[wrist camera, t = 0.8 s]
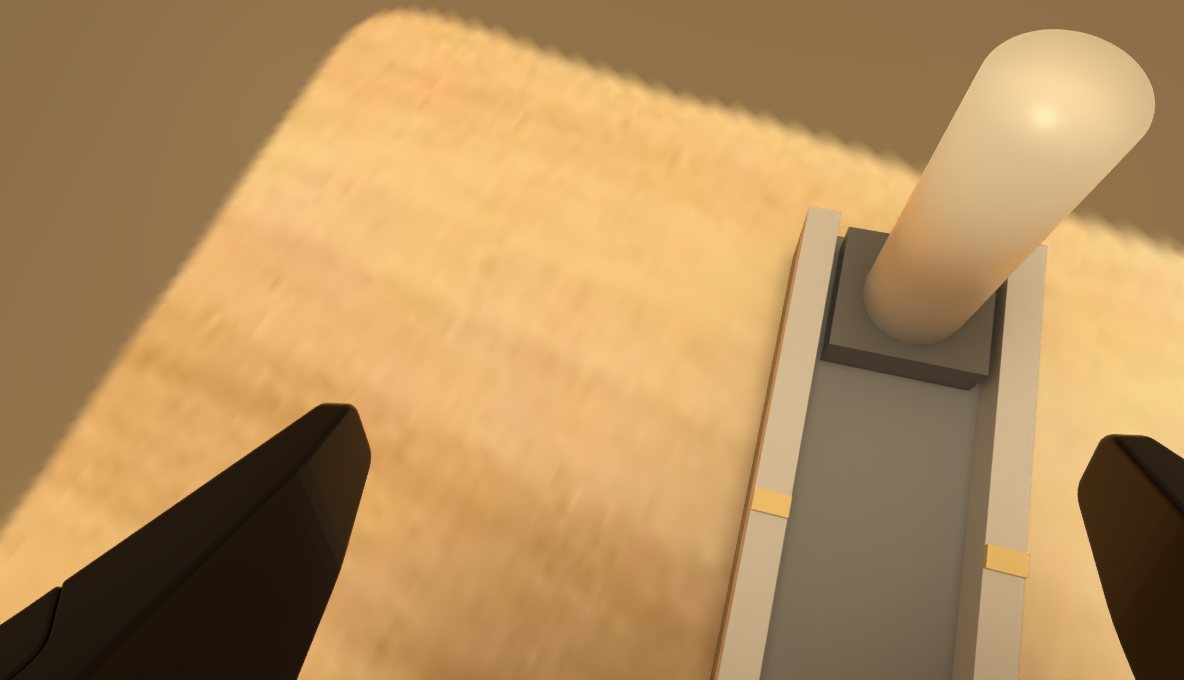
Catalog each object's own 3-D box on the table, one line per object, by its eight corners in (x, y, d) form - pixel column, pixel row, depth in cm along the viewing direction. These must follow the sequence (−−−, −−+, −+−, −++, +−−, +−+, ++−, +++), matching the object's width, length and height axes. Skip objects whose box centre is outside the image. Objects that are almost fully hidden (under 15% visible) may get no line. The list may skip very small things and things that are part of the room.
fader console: (937, 991, 18) (995, 1076, 15) (668, 894, 20) (666, 951, 16) (999, 294, 25) (1050, 242, 21) (793, 257, 26) (810, 202, 23)
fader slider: (969, 390, 22) (1200, 206, 12) (820, 359, 23) (925, 165, 13) (981, 273, 23) (1198, 23, 13) (839, 248, 24) (947, -4, 14)
